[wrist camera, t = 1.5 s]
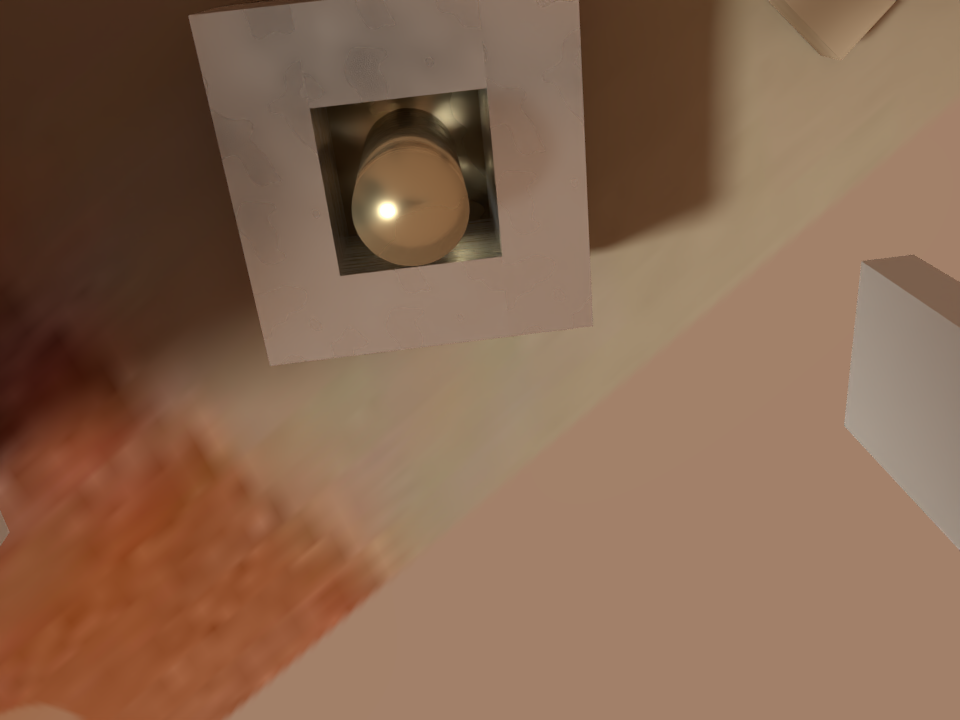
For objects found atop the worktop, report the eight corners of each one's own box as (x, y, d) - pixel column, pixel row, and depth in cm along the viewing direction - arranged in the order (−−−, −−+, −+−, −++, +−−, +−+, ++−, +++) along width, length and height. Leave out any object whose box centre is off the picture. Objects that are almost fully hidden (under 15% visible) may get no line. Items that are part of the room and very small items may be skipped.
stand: (264, 163, 28) (216, 233, 21) (388, -13, 26) (381, 0, 19) (428, 281, 31) (434, 381, 24) (553, 129, 29) (602, 187, 22)
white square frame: (286, 315, 29) (270, 365, 26) (219, 6, 25) (188, 15, 21) (570, 280, 30) (593, 325, 26) (553, -31, 25) (577, -29, 22)
